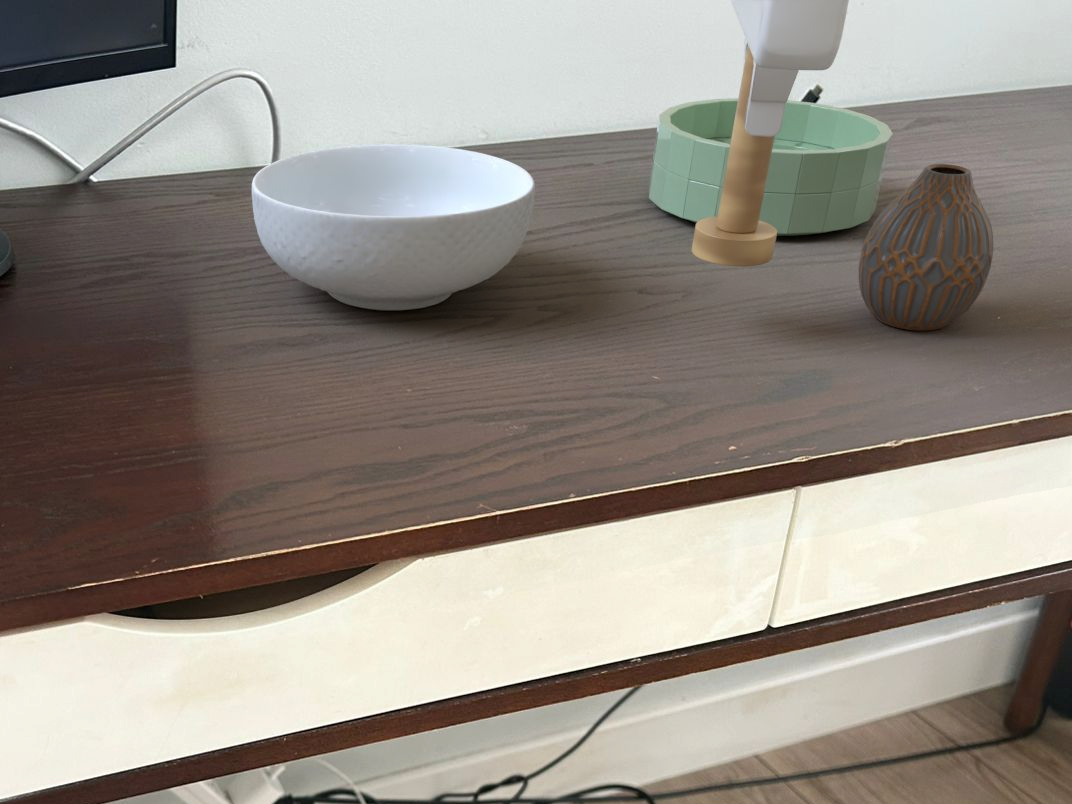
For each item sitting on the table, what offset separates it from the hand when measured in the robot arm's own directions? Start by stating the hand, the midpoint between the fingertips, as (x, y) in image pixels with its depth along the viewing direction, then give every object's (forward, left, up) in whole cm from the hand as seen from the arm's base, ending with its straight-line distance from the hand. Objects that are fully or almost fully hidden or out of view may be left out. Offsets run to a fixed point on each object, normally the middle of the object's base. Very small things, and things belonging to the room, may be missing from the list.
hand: (757, 124), depth 73 cm
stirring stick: (0, 0, -7) cm, 7 cm away
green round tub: (-4, -25, -12) cm, 28 cm away
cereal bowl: (+20, -3, -12) cm, 23 cm away
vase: (-11, -4, -12) cm, 17 cm away
